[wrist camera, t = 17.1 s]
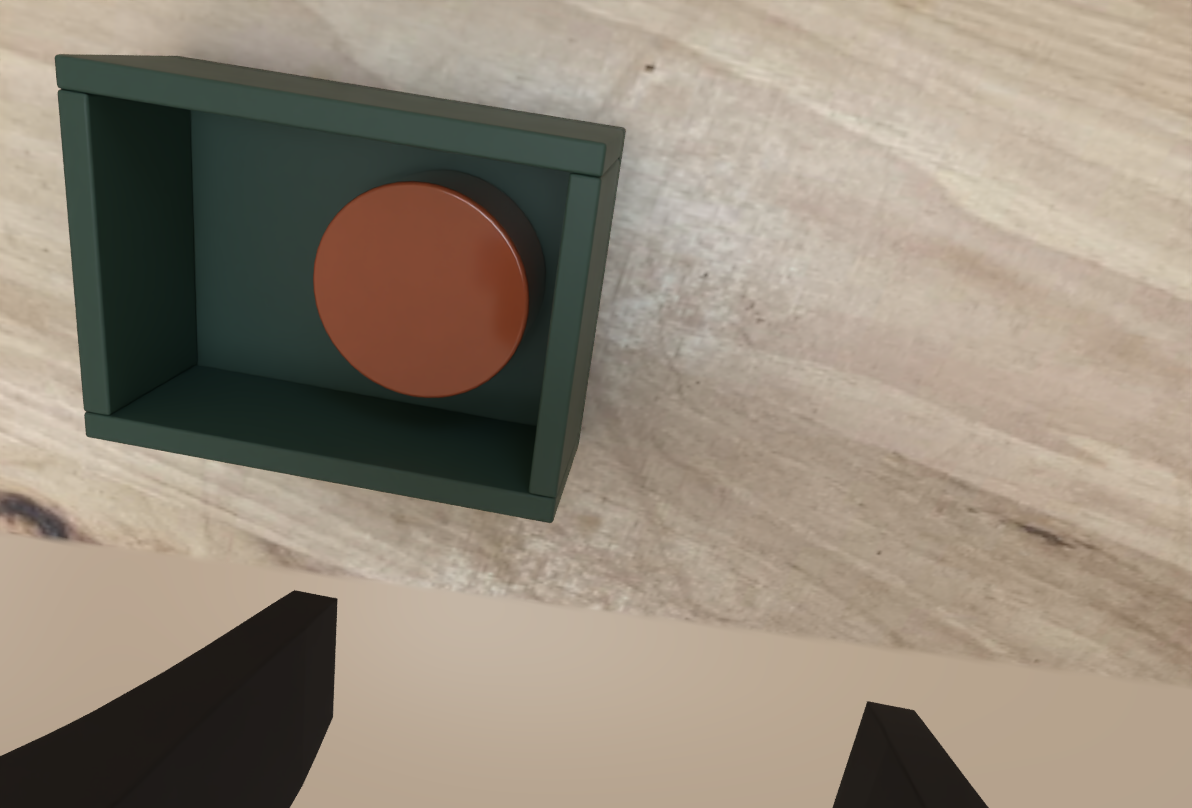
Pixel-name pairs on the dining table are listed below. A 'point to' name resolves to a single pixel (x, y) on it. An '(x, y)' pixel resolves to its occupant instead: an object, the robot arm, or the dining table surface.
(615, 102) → the dining table surface
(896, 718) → the robot arm
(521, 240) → the cylinder
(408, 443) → the tub
